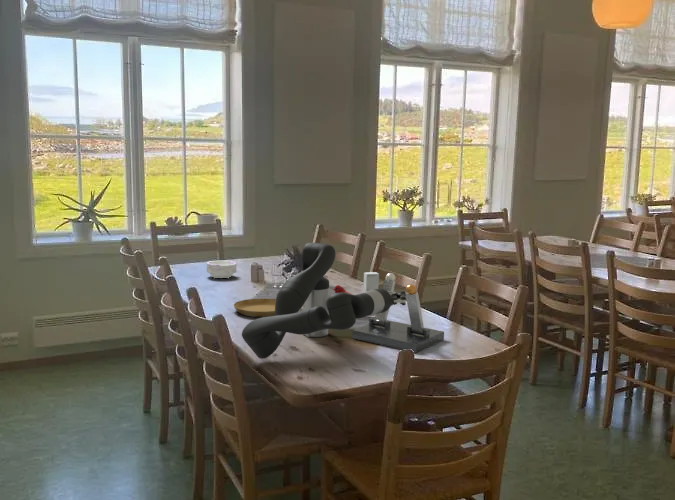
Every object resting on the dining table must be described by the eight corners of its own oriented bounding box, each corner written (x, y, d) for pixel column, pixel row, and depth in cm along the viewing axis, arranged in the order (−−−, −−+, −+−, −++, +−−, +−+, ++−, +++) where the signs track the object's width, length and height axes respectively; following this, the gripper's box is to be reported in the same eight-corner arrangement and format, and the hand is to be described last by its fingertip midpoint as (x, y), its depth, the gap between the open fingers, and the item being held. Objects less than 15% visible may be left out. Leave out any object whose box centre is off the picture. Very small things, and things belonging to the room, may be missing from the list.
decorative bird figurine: (334, 306, 275) (334, 283, 274) (370, 312, 267) (371, 289, 265) (330, 308, 273) (331, 285, 271) (367, 314, 264) (368, 290, 263)
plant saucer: (249, 303, 280) (249, 295, 279) (301, 308, 273) (301, 300, 272) (223, 316, 257) (223, 307, 257) (278, 322, 250) (278, 313, 249)
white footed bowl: (242, 277, 335) (242, 262, 333) (222, 281, 322) (222, 266, 321) (220, 273, 343) (220, 258, 341) (200, 277, 330) (200, 262, 329)
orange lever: (422, 338, 223) (414, 288, 214) (410, 335, 226) (401, 286, 217) (427, 332, 225) (419, 283, 216) (415, 329, 228) (406, 281, 219)
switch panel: (416, 353, 215) (416, 336, 214) (352, 338, 230) (352, 323, 229) (443, 339, 231) (444, 324, 230) (382, 326, 246) (383, 312, 245)
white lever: (382, 326, 231) (395, 272, 234) (370, 324, 234) (383, 271, 237) (387, 328, 234) (399, 275, 237) (375, 325, 237) (388, 273, 240)
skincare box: (365, 300, 289) (366, 274, 287) (362, 298, 293) (363, 272, 291) (378, 299, 291) (379, 273, 289) (375, 297, 295) (376, 271, 293)
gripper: (355, 310, 201) (386, 302, 215) (391, 318, 193) (420, 308, 207) (356, 287, 200) (387, 280, 214) (392, 293, 192) (421, 285, 206)
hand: (403, 294), depth 210 cm, fingers closed
